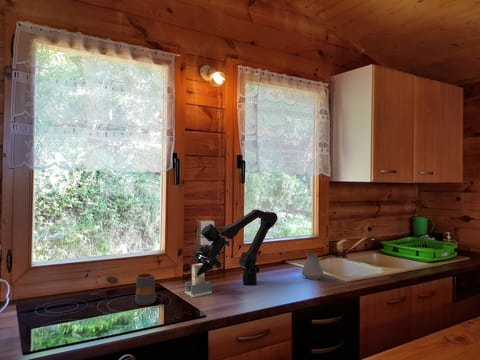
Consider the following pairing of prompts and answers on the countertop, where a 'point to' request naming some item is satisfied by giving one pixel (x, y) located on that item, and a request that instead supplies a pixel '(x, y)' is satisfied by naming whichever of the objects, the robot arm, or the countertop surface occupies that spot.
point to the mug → (145, 289)
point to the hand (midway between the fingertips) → (195, 274)
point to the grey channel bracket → (197, 289)
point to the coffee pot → (313, 266)
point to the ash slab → (195, 277)
